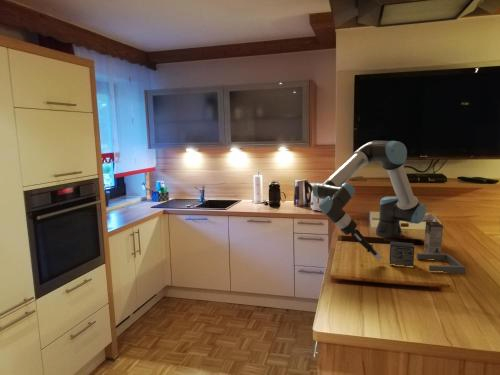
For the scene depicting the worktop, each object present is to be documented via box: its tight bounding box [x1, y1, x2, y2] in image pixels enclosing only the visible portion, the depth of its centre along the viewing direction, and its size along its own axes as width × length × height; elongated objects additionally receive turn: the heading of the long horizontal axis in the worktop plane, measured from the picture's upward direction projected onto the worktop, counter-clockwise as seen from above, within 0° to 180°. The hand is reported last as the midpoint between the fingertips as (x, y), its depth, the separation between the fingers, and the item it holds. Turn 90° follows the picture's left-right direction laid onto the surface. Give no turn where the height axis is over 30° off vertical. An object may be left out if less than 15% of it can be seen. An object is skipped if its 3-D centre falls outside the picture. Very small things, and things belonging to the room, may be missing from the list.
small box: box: [389, 241, 415, 266], centre depth 179 cm, size 11×6×10 cm, turn 71°
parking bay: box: [415, 252, 466, 275], centre depth 178 cm, size 18×15×3 cm
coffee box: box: [423, 221, 444, 254], centre depth 194 cm, size 9×6×16 cm
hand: (380, 258), depth 180 cm, fingers closed
